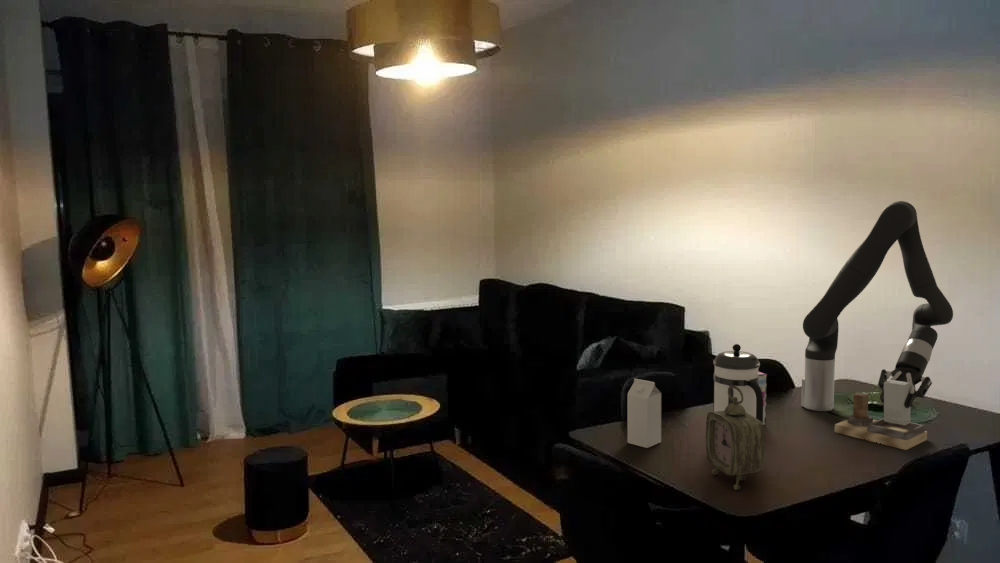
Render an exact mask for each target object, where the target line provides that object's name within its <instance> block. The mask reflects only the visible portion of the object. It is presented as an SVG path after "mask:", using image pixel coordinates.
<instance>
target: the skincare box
mask: <svg viewBox="0 0 1000 563" xmlns="http://www.w3.org/2000/svg"><path fill="white" fill-rule="evenodd" d="M909 388H910V383H908V382H902V381H896V380H890V379H887V381H885V382H884V403H883V418H884V421H885V422H890V423H895V424H900V425H907V424H909V423H910V422H911V407H909V408H905V406H904V402H905V400H906V398H907V395H908V394H910V391H909Z"/></svg>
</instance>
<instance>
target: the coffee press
mask: <svg viewBox="0 0 1000 563" xmlns="http://www.w3.org/2000/svg"><path fill="white" fill-rule="evenodd" d="M731 348H732V350H727V351H722V352H720V353H718V354H717V355H716V357H715V358H714V359H713V363H712V364H713V365H714V372H713V412H717V411H725V408H726V407H727V406H728V405H729V404H732V403H733V401H731V399H730V398H729V396H728V388H729V387H730V386H736V387H738V388H739V389H740V390H741V391H742V394H743V402H742V403H741V404H740V405H742V406H743V407H744V409H745V411H746V413H747V414H749V415H751V416H753V417H755V418H756V419H758V420H760V421H761V422H762V423H763V395H762V391H761V388H760V387H759V375H758V371H759V368H760V366H761V363H760V361H759V359H758V357H757V356H756V355H754V354H753V353H751V352H748V351H742V350H741V349H742V347H741V345H740V344H738V343H735V344H733V346H732V347H731ZM730 395H731V397H732V398H734V397H737V398H738V400H737V401H741V395H740V393H739V392H738V390H736V389H734V388H731V389H730Z"/></svg>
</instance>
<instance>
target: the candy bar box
mask: <svg viewBox="0 0 1000 563" xmlns="http://www.w3.org/2000/svg"><path fill="white" fill-rule="evenodd" d="M758 375H759V387H760V388H761V391H762V395H763V424H764V426H766V424H767V421H766V420H767V388H768V387H767V385H768V374H767V373H764V372H761V371H759V370H758Z"/></svg>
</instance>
